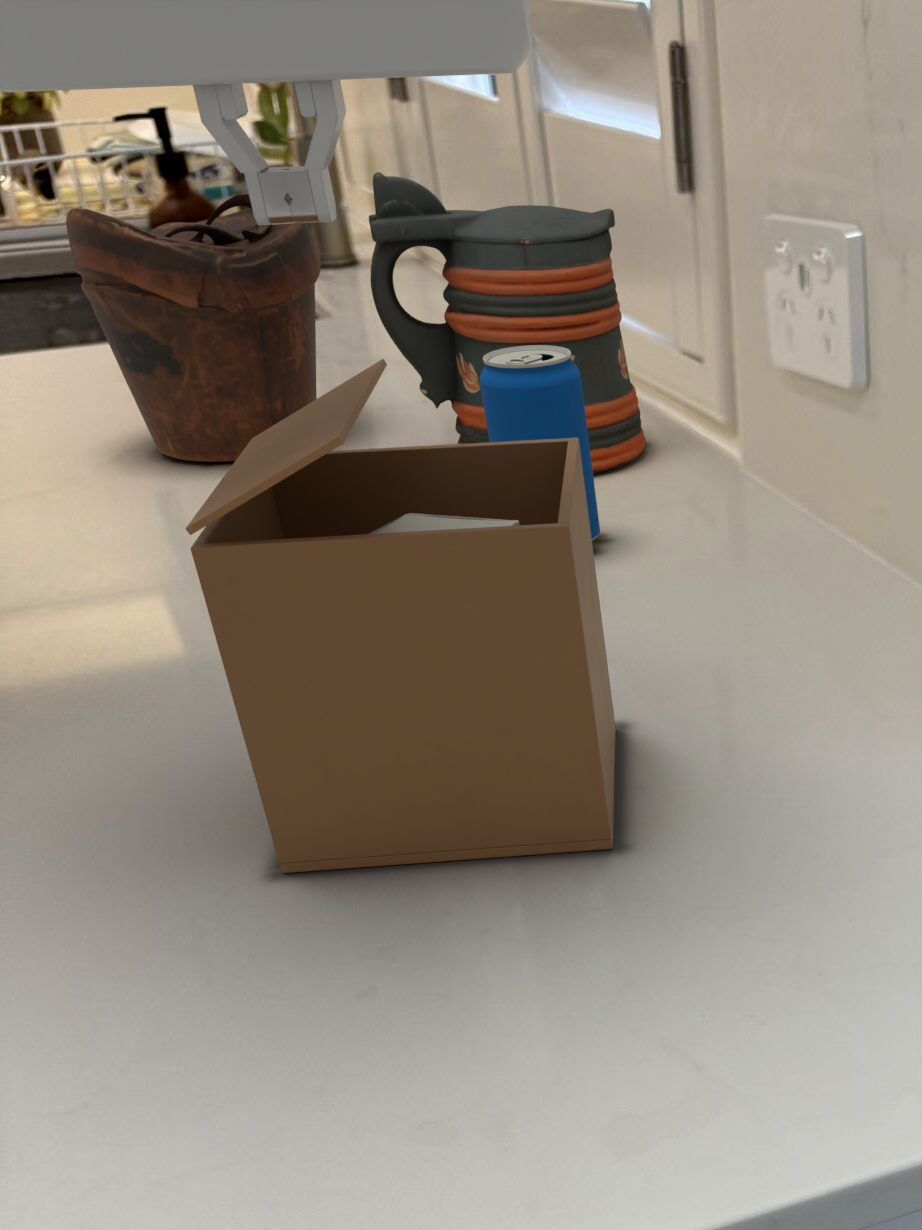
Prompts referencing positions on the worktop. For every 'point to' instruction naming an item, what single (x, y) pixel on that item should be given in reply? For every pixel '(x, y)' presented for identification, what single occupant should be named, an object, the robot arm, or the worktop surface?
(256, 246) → the brown plant pot
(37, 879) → the worktop surface
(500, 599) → the carton
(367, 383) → the flap
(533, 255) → the beer stein
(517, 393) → the beverage can
